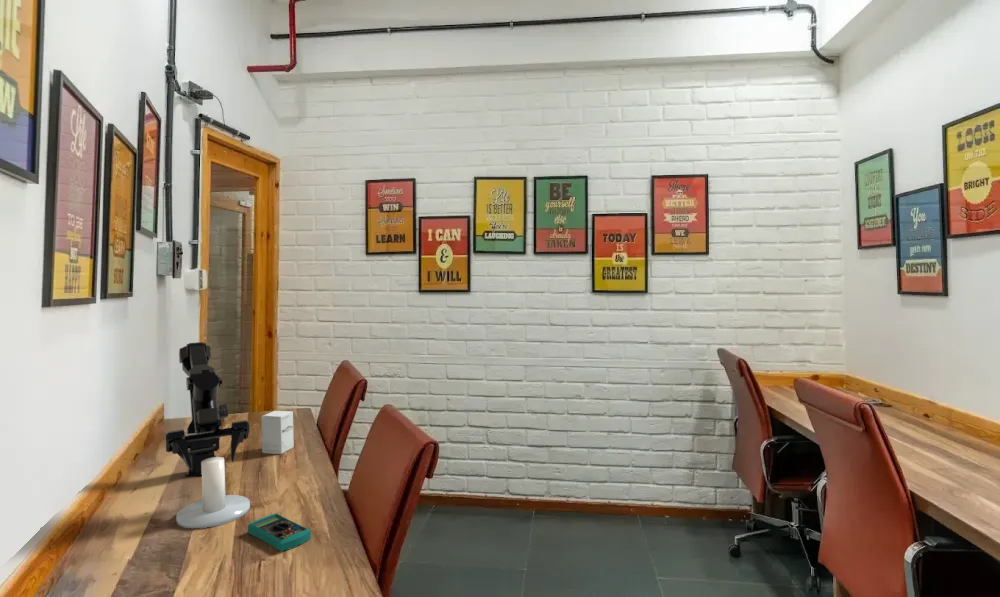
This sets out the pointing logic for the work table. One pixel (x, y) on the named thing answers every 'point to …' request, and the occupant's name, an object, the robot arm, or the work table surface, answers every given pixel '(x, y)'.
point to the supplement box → (277, 432)
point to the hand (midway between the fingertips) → (211, 465)
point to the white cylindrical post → (213, 484)
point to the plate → (197, 518)
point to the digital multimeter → (279, 532)
